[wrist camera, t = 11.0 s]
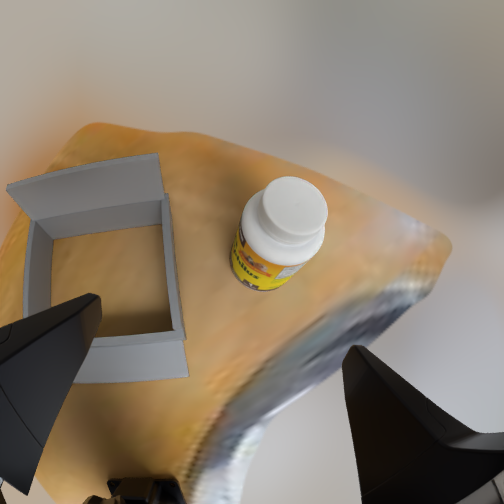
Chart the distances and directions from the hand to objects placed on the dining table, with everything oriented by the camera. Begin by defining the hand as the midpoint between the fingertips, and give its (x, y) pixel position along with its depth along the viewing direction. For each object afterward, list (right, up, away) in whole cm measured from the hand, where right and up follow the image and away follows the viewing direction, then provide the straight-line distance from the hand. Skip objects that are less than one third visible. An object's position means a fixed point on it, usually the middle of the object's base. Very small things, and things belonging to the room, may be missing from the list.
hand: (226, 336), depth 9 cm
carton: (-12, -1, +12) cm, 17 cm away
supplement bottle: (+2, +2, +16) cm, 16 cm away
